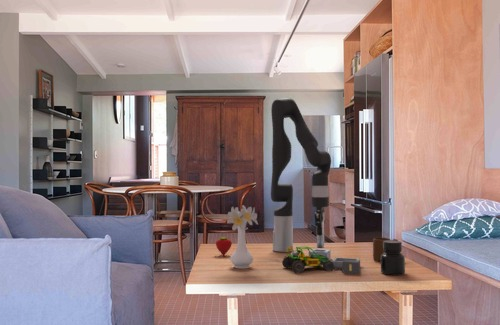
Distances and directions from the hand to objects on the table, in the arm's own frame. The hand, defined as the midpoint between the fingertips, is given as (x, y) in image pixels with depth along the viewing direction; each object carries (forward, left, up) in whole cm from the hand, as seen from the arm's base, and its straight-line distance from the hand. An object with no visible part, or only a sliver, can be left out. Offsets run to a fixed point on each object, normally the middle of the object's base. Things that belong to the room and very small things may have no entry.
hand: (320, 234), depth 205 cm
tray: (+13, -14, -11) cm, 22 cm away
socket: (0, -1, -11) cm, 11 cm away
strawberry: (-45, -4, -11) cm, 47 cm away
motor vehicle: (-1, -22, -12) cm, 25 cm away
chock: (+17, -23, -11) cm, 30 cm away
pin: (0, 0, -6) cm, 6 cm away
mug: (+28, +7, -11) cm, 31 cm away
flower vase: (-26, -28, -11) cm, 40 cm away
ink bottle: (+32, -19, -11) cm, 38 cm away
